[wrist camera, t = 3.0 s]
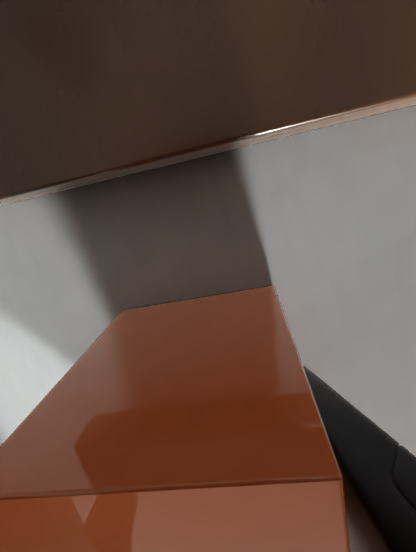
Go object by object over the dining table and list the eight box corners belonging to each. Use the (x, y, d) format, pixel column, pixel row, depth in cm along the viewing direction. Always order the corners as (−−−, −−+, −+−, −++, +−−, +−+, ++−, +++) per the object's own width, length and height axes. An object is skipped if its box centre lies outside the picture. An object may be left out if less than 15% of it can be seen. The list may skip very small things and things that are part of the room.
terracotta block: (160, 428, 11) (77, 695, 5) (122, 310, 9) (-51, 500, 4) (294, 415, 10) (368, 714, 4) (273, 284, 9) (343, 476, 3)
